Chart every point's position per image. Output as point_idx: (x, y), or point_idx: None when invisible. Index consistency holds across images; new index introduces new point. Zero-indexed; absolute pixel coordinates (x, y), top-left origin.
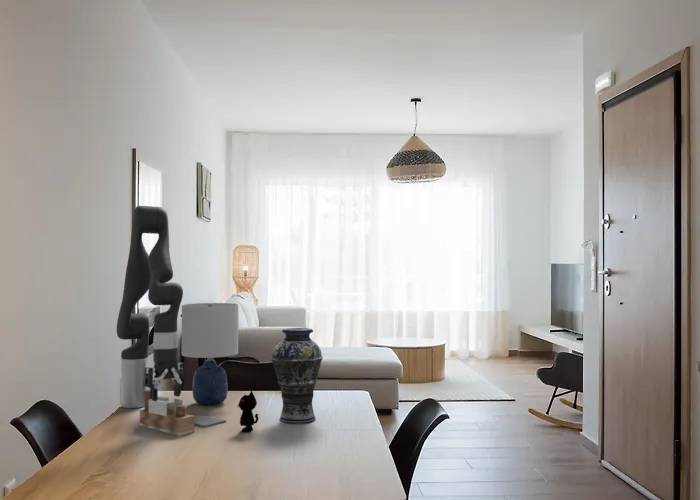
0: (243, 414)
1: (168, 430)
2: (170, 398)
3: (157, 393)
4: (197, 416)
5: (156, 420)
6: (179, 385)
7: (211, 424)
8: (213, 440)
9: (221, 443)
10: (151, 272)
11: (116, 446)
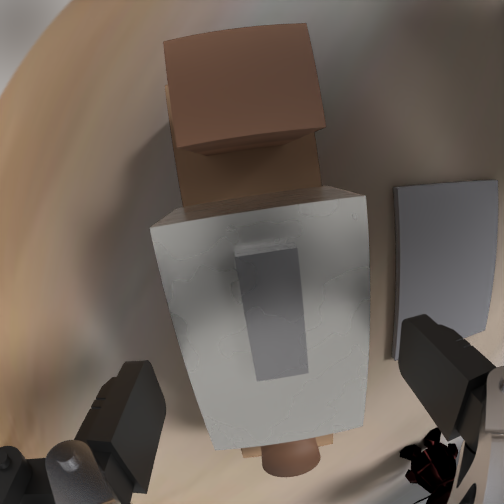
0: (426, 486)
1: None
2: (348, 329)
3: (153, 456)
4: (478, 187)
5: None
6: (458, 429)
7: None
8: (290, 481)
9: (286, 500)
10: None
11: (19, 365)
